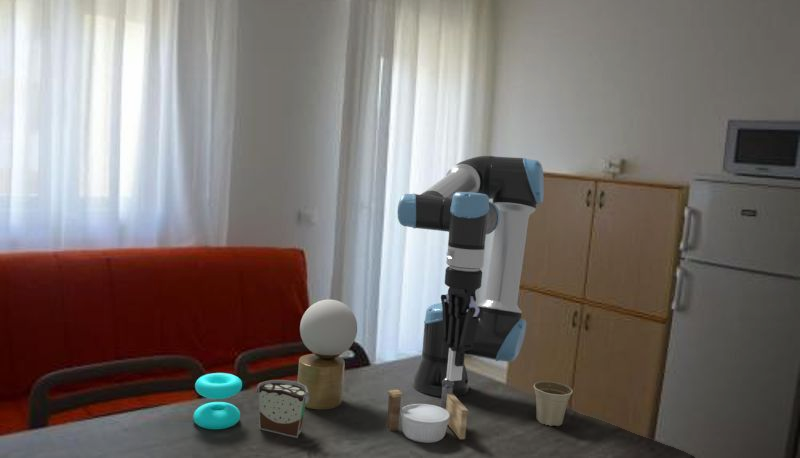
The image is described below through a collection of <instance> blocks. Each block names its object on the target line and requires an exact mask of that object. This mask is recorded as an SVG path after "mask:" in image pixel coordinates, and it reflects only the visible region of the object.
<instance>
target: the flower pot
mask: <svg viewBox="0 0 800 458" xmlns="http://www.w3.org/2000/svg"><path fill="white" fill-rule="evenodd" d="M532 387H533V389H534V394H535V403H536V405H535V406H536V407H535V408H536V420H537V422H538V423H540V424H542V425H544V424H545V426H547V425H549V426H548V427H553V426H556V427H560V426H561V425H562V424H563V422H564V417H565V414H566V409H567V405H568V402H569V400H570V398H571V395H572V394H573V391H574V390H573V389H572V388H571V387H570V386H568V385H565V384H563V383H559V382H555V381H548V380H547V381H537V382H535V383H534V384H533V386H532Z"/></svg>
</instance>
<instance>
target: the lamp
mask: <svg viewBox="0 0 800 458" xmlns="http://www.w3.org/2000/svg"><path fill="white" fill-rule="evenodd" d="M299 333H300V338H301V340H302V343H303V344H304V346H305V347H306V348H307V349H308V350H309V351H310V352H312V353H309V354H305V355H302V356H300V357H299V359H298V367H297V368H298V369H297V382H298V383H301V384H303V385H305V386H306V387H307V390H308V393H309V401H308V402H307V403H305V408H306V409H312V410H331V409H335V408H339V407H340V406H341V405H342V402H343V392H344V391H343V390H344V380H345V379H344V378H345V367H346V366H345V362H346V361H345V360H344V358H343V357H341V355H343V354H344V353H346V352H347V351H348V350H349V349H350V348H351V347H352V345H354V344H353V343H354V342H355V340H356V338H357V334H358V322H357V318H356V316H355V313H354V312H353V311H352V309H351V308H350V307H349V306H348V305H347V304H346V303H344V302H342V301H339V300H337V299H323V300H319V301H316V302H314V303H313V304H312V305H311V306H309V307H308V308H307V309H306V311H304V313H303V315H302V317H301V320H300V325H299Z"/></svg>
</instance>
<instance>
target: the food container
mask: <svg viewBox="0 0 800 458" xmlns="http://www.w3.org/2000/svg"><path fill="white" fill-rule="evenodd" d="M255 393H258V394H257V399H258V400H257V401H258V424H259V426H258V427H259V428H258V429H259V430H262V431H266V432H269V433H270V432H271V433H275V434H279V435H283V436H287V437H291V438H296V439H299V437H300V436H301V432H302V427H303V421H304V414H305V408H306V407H305V403H307V402H308V401H309V393H308V390H307V387H306V386H305V385H303V384H301V383H298V381H294V380H286V379H272V380H271V379H270V380H266V381H262V382H259V383H258V384H257V386H256V389H255Z"/></svg>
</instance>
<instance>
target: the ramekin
mask: <svg viewBox="0 0 800 458" xmlns="http://www.w3.org/2000/svg"><path fill="white" fill-rule="evenodd" d="M400 417H401V429H402V430H401V431H402V432H403V434H404V436H405V437H406V438H407V439H408V440H409V439H410V440H412V441H415V442H417V443H418V442H419V443H429V444H430V443H432V444H433V443H437V442H440V441H441V440H442V439H443V438H444V437H445V436H446V432H447V429H448V426H449V425H448V422H449V420H450V414H449V412H448V411H446V410H445V409H443V408H441V406H438V405H434V404H428V403H413V404H408V405H405V406H403V407H402V408H400Z"/></svg>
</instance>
